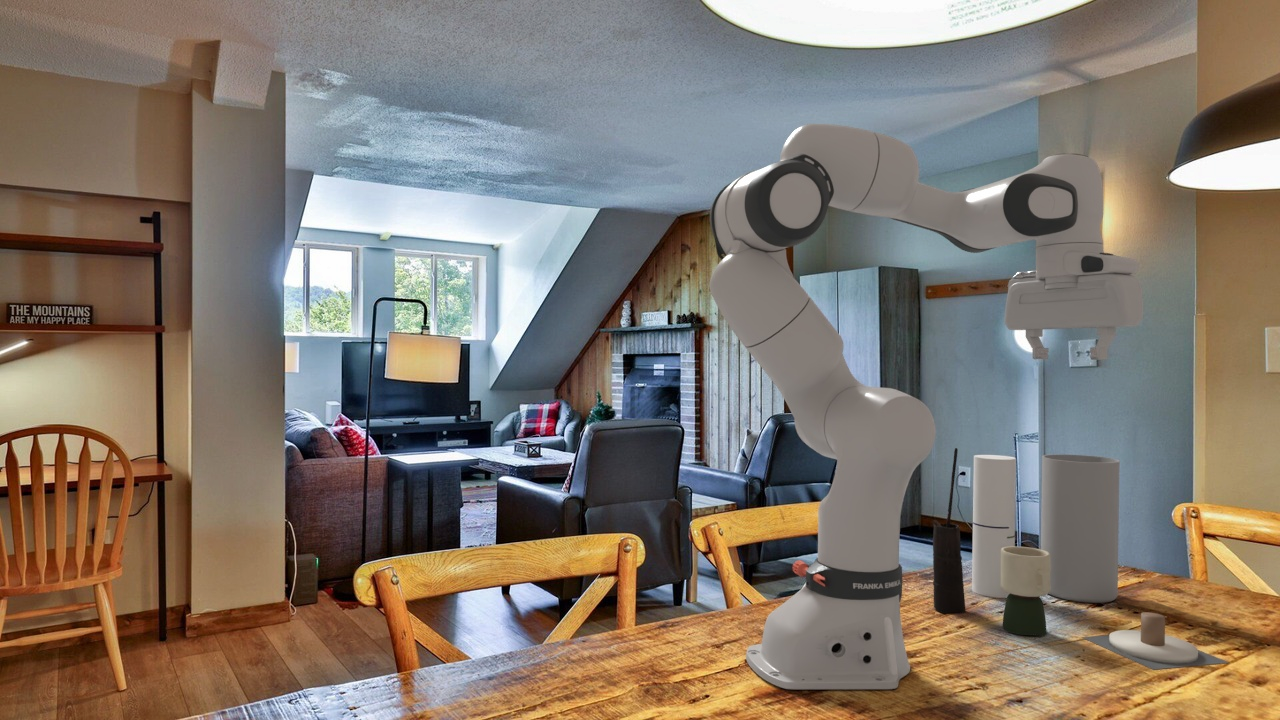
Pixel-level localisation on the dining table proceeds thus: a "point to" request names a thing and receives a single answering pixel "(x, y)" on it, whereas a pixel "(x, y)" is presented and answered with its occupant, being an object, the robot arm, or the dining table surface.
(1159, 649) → the lid
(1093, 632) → the dining table surface
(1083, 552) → the cylinder vase
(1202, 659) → the mat
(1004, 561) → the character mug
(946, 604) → the butter churn
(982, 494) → the cylindrical container
